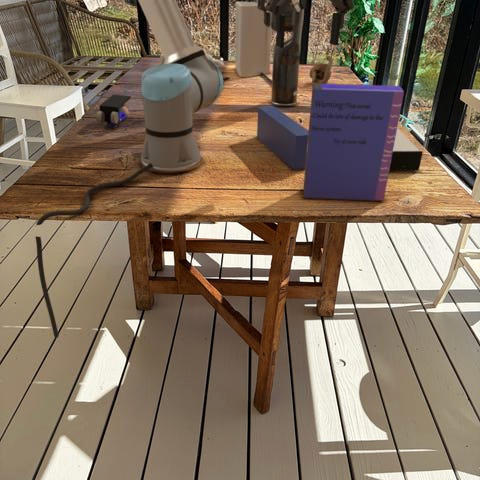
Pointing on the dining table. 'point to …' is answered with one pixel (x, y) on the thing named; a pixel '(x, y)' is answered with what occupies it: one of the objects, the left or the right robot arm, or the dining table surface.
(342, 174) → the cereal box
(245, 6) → the tall white block
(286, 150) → the bar
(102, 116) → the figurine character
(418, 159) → the disc drive
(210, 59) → the toy
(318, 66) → the anatomical model
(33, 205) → the dining table surface
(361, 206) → the dining table surface
